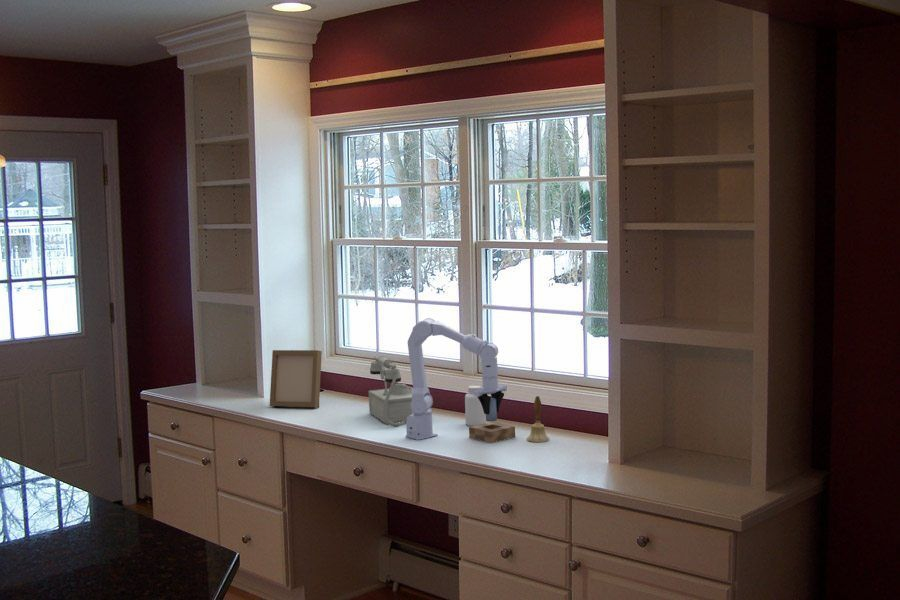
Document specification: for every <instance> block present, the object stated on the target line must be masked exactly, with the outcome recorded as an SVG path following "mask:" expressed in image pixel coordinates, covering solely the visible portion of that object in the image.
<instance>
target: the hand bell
mask: <svg viewBox="0 0 900 600" xmlns="http://www.w3.org/2000/svg"><path fill="white" fill-rule="evenodd" d="M533 409H534V412H535V423H533V424H532V425H531V430H530V434H529V435H528V436H527V438H526V441H527V440H528V441H527V442H530V441H531V443H545V442H544V441H546V442H549V441H550V440H549V439H550V437H549V436H548V435H547V433H546V429H545V425H544V424H542V423H541V410H542V401H541V399H540V396H538V395H536V396H535V399H534V402H533ZM548 440H549V441H548Z"/></svg>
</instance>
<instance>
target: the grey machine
mask: <svg viewBox="0 0 900 600" xmlns="http://www.w3.org/2000/svg"><path fill="white" fill-rule="evenodd" d="M373 359H374V361H371V363H370V367H369V373H370V375H379V377H380V379H381V380H382V381H383V380H384V388H383V389H381V388H380V389H372V390H368V403H369V404H368V408H369V414H370V413H371V414H372V415H371V414H370V415H371V416H373V415H374V416H375V417H374V416H373V417H374V418H376V417H377V418H378V420H379V419H380V420H379V421H381V422H382V421H383V422H382V423H383V424H385V423H386V425H390V426H392V427H400V426H399V425H401V426H403V425H404V424H406V419H407V417H408V416H409V415H411V414H412V413H413V411H412V409H411V401H412V392H413V386H408V385H406V383H400V382H401V381H402V375H401V372H400V368H397V365H395V364H394V363H393V360H391V359H388V358H386V357H384V356H382V355H381V356H379V357H378V356H373ZM390 383H391V384H390ZM388 384H390V387H389V388H388ZM377 418H376V419H377ZM399 422H400V423H399Z"/></svg>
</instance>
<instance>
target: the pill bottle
mask: <svg viewBox="0 0 900 600" xmlns="http://www.w3.org/2000/svg"><path fill="white" fill-rule="evenodd" d="M482 388H483V386H481V385H469V386H468V388H467V390H468V391H467V392H468V393H466V394H465V395H464V409H465V411H464V412H465V424H466V425H467V426H469V427H472V426H476V425H480V424H485V423H487V421H486V414H484V411H483V408H482V405H481V403H480V401H479V399H478V397H476V396H474V391H476V390H479V389H482Z"/></svg>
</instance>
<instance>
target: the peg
mask: <svg viewBox="0 0 900 600" xmlns="http://www.w3.org/2000/svg"><path fill="white" fill-rule="evenodd" d="M497 413H498V412H497V408H496V398H492V397H491V400H490V412H489V414H488V415H487V414H486V422H497V420H498V414H497Z"/></svg>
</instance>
